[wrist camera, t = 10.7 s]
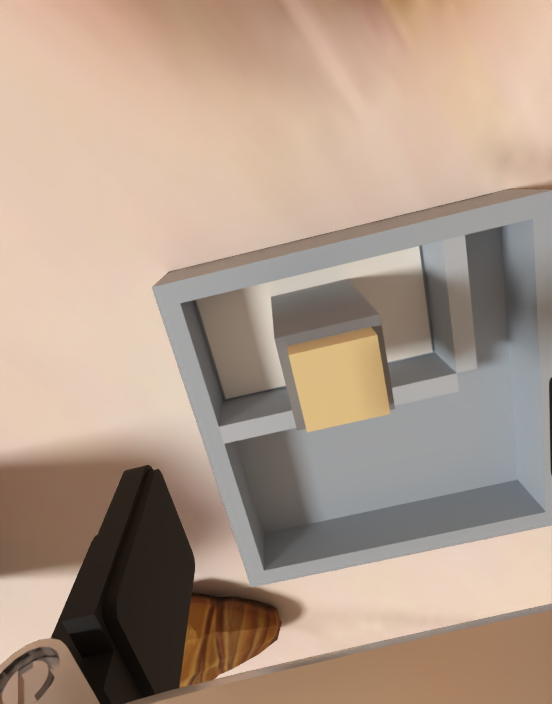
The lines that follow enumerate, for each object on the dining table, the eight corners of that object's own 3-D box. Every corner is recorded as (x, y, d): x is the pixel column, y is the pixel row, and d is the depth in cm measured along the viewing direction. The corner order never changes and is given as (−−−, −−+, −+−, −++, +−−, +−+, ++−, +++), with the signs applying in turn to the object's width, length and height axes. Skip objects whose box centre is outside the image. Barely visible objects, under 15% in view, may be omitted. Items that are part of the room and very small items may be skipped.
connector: (270, 296, 24) (274, 347, 16) (346, 278, 24) (386, 321, 16) (287, 367, 25) (299, 443, 18) (359, 350, 25) (402, 420, 17)
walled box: (168, 271, 24) (151, 287, 21) (508, 189, 24) (555, 189, 20) (252, 537, 30) (251, 587, 27) (526, 479, 30) (564, 522, 26)
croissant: (97, 651, 34) (70, 726, 29) (82, 579, 32) (51, 648, 27) (281, 643, 34) (284, 716, 30) (279, 572, 32) (283, 638, 27)
